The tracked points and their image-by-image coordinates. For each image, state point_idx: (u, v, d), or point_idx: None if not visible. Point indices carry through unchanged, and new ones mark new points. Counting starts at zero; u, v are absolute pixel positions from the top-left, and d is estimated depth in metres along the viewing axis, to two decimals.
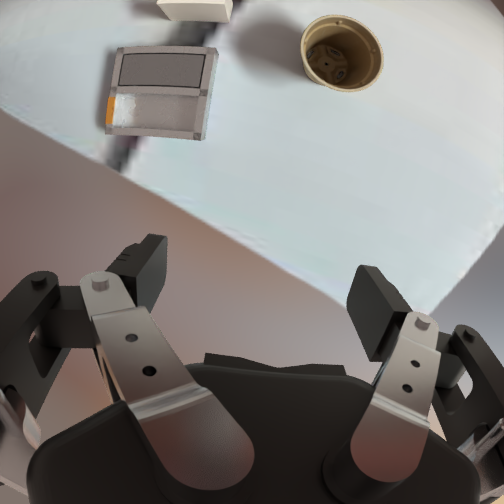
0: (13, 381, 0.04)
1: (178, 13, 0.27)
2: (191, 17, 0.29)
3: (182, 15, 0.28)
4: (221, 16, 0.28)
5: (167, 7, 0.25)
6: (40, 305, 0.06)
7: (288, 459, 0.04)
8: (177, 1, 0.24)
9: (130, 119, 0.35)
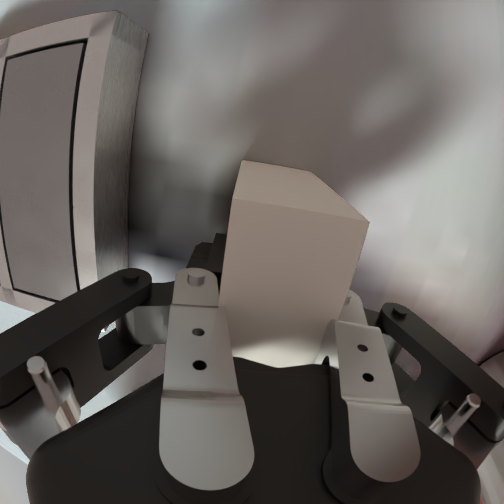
0: (69, 365, 0.05)
1: None
2: None
3: None
4: None
5: None
6: (122, 302, 0.07)
7: (288, 459, 0.04)
8: (227, 305, 0.07)
9: None
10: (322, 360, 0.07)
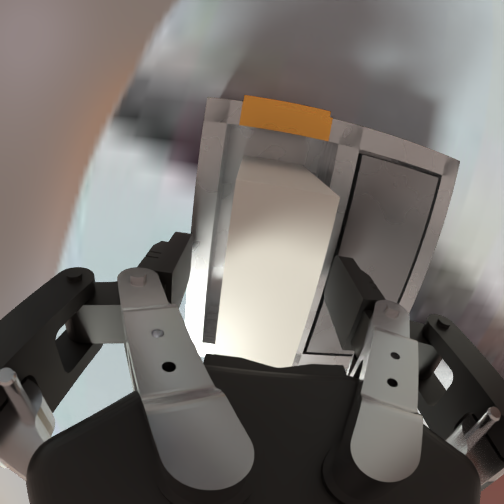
0: (34, 372, 0.05)
1: None
2: None
3: None
4: None
5: None
6: (72, 301, 0.06)
7: (288, 459, 0.04)
8: (231, 263, 0.09)
9: (249, 151, 0.14)
10: (358, 365, 0.07)
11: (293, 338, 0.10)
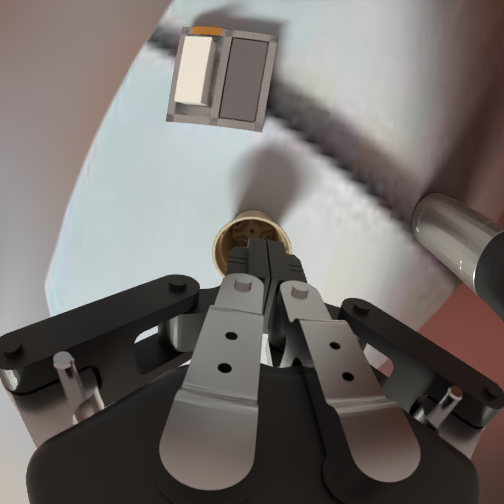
0: (99, 365, 0.06)
1: None
2: None
3: None
4: None
5: None
6: (164, 309, 0.07)
7: (288, 459, 0.04)
8: (183, 56, 0.27)
9: None
10: (292, 361, 0.07)
11: (201, 78, 0.28)
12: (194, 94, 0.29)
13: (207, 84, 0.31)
